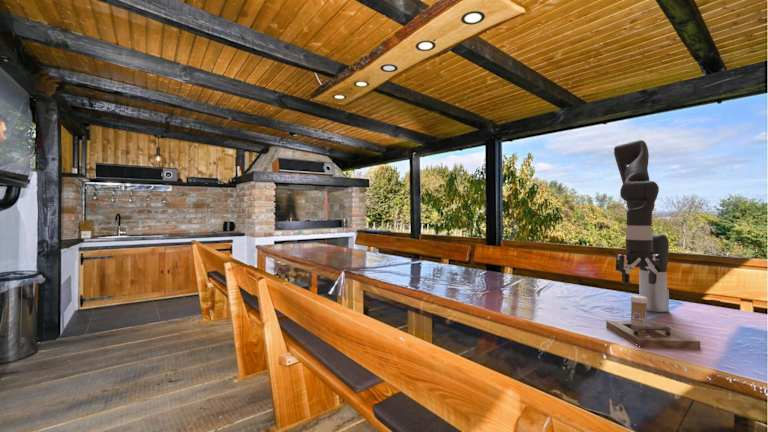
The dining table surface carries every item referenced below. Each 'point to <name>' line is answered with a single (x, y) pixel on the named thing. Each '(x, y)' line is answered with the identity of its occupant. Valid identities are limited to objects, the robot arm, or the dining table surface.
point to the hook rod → (666, 328)
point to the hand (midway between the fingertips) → (638, 283)
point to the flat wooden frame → (654, 336)
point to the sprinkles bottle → (639, 312)
